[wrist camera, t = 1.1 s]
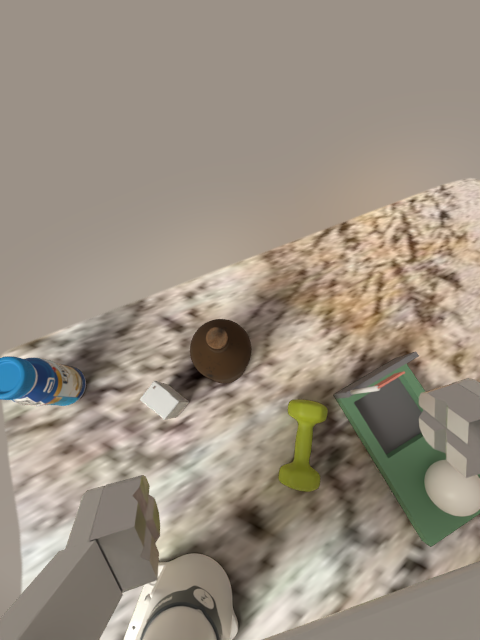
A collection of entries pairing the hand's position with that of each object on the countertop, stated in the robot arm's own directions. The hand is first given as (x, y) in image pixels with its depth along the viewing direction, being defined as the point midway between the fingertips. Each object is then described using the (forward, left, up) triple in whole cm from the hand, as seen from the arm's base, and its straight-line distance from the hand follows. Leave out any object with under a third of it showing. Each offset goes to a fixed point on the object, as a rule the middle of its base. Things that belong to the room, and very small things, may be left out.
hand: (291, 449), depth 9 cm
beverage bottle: (-15, +36, -62) cm, 73 cm away
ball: (+8, -37, -55) cm, 67 cm away
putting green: (+12, -31, -62) cm, 70 cm away
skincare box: (-6, +15, -62) cm, 64 cm away
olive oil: (+7, +10, -62) cm, 63 cm away
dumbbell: (+1, -12, -62) cm, 64 cm away
